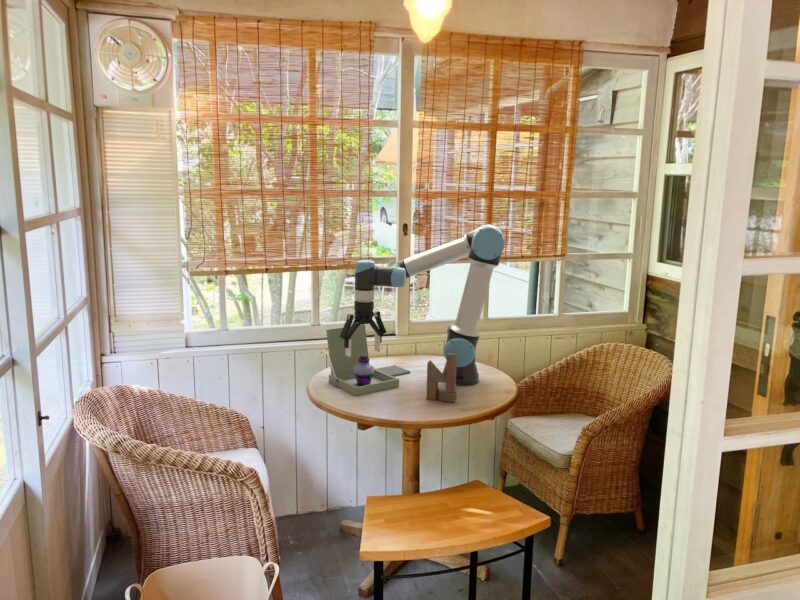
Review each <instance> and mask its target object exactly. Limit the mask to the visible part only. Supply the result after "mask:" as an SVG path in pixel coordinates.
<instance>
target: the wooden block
mask: <svg viewBox="0 0 800 600" xmlns="http://www.w3.org/2000/svg"><path fill="white" fill-rule="evenodd" d="M446 361H447V370H446V377H445V376H444V375H443V374H442V372H441V371H440V369H439V368H438V367H437V366H436V365H435V363H434V362H433V361H432V360H431V359H430V360H429V361H428V362H427V364H426V365H427V369H426V399H427V400H431V401H436V400H439V402H448V403H455V402H456V401H457V396H458V391H457V389H456V388H457V385H456V365H457V354H456V353H447V360H446ZM439 383H443V384H445V388H439Z"/></svg>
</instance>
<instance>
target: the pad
mask: <svg viewBox="0 0 800 600" xmlns="http://www.w3.org/2000/svg"><path fill="white" fill-rule="evenodd" d="M376 369H377V370H379V371H381V372H384V373H386V374H388V375H391V376H393V377H397V376H403V375H408V374H411V371H410V370H409V369H406V368H403V367H401V366H398V365H395V364H393V365H388V366H383V367H377V368H376Z"/></svg>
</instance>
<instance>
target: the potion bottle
mask: <svg viewBox="0 0 800 600" xmlns="http://www.w3.org/2000/svg"><path fill="white" fill-rule="evenodd" d="M368 357H369V354H368V355H366V354H363V355H360V358H358V361H359V362H360V365H356V366H354V367H353V370H354V374H355V376H356V378H355V381H356V385H357V387H360V386H364V385H369V384H372V383H371V382H372V379H373V378H374V374H373V373H374V369H376V368H375V366H374V365H370V364H369V365H367V363H368V362H369V363H370V357H369V358H368Z"/></svg>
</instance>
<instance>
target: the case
mask: <svg viewBox="0 0 800 600" xmlns="http://www.w3.org/2000/svg"><path fill="white" fill-rule="evenodd" d="M351 326H352V325H351ZM351 326H350V327H351ZM342 329H343V327H339V328H338V327H336V328H331V329H330V328H329V329H325V331H326V340H327V348H328V350H325V351H324V352H325V354H326V358H327V361H328V363H329V366H330V367H329V368H330V374H329V375H328V383H330V384H332V385H334V386H335V387H338V388H339V389H342V390H344V391H346V392H348V393H350V394H351V395H353V396H356V397H357V396H362V395H367V394H371V393H376V392H380V391H384V390H389V389H394V388H398V387H399V386H400V379H399V378H397V377H396V376H394V377H393V376H391V375H388V374H386V373H384V372H381V371H379V370H377V368H375V369H374V373H373V374H374V376H373V378H376V379H378V380H381V381H379V382H374V383H370V384H369V385H364V386H356V385H353V384H351V383H349V382H347V381H345V380H350V379H356V376H355V374H354V370H353V367H354V366H356V365H360V362H359V361H358V358H360V355H363V354H366V355H368V358H369V359H370V357H369V350H368V339H367V330H366V324H363V325H361V324H360V326H358V328H357V329H356V330H355V332H354V333H353V335H352V336H351V338H350V340H351V357H349V356H346V348H345V347H344V339H342V338H340V334H341V332H342ZM367 365H370V361H369V362H368V363H367Z"/></svg>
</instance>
